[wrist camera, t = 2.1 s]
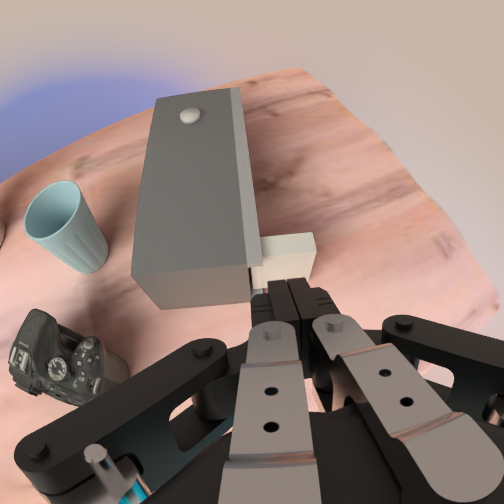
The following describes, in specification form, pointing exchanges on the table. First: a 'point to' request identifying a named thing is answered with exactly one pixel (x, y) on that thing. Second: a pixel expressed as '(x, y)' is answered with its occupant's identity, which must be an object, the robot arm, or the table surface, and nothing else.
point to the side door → (284, 258)
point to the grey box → (197, 204)
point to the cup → (66, 227)
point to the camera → (62, 362)
